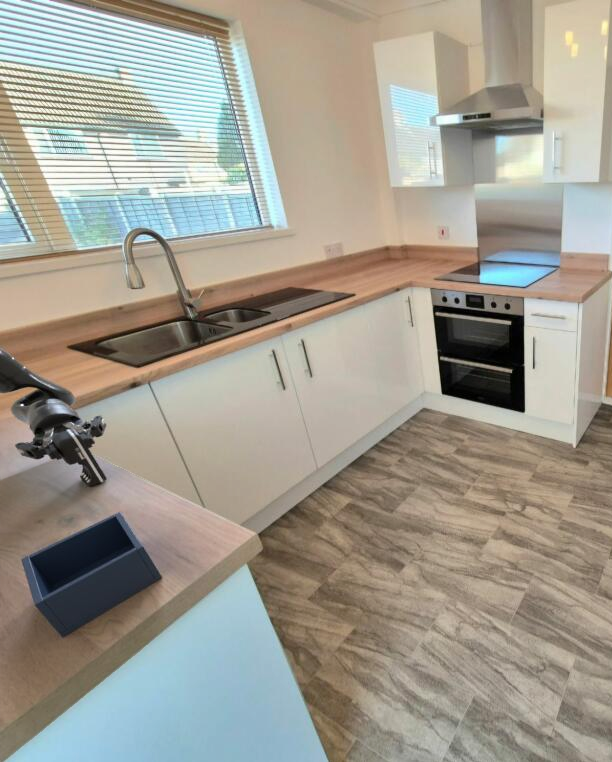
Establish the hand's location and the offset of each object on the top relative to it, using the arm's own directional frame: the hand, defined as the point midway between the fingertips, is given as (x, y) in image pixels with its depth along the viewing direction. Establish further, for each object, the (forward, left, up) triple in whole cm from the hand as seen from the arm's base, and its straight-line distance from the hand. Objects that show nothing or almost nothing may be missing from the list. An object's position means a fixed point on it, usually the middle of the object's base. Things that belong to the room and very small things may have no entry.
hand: (72, 449), depth 84 cm
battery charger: (0, +3, -9) cm, 10 cm away
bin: (-5, -33, -9) cm, 35 cm away
